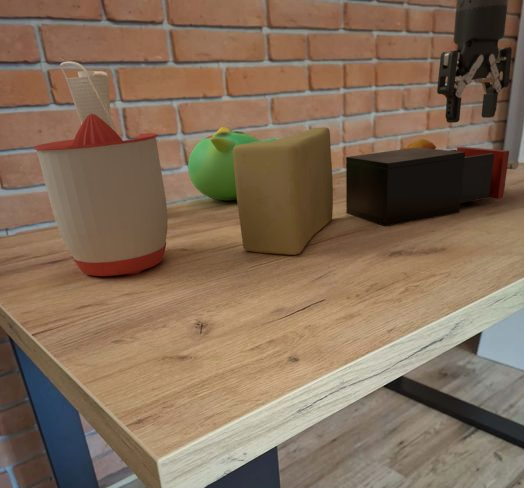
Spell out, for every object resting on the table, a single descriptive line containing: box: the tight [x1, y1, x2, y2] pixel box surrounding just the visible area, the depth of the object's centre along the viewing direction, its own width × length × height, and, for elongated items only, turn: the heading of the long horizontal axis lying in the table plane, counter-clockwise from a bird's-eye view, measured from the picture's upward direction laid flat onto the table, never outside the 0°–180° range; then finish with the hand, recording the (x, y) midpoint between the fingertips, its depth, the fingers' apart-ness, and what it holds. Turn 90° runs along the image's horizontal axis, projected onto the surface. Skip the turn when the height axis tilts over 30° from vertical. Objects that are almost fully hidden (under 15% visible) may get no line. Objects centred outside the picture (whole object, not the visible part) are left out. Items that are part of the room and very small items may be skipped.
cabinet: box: [345, 147, 465, 227], centre depth 87 cm, size 15×13×10 cm
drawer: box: [448, 146, 519, 204], centre depth 91 cm, size 18×11×8 cm, turn 112°
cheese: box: [233, 126, 334, 256], centre depth 78 cm, size 22×10×15 cm, turn 151°
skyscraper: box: [59, 61, 118, 134], centre depth 95 cm, size 8×8×28 cm
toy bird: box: [187, 126, 282, 201], centre depth 109 cm, size 18×17×15 cm
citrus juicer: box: [33, 114, 168, 277], centre depth 70 cm, size 16×17×20 cm
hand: (470, 119), depth 87 cm, fingers open, 8 cm apart
